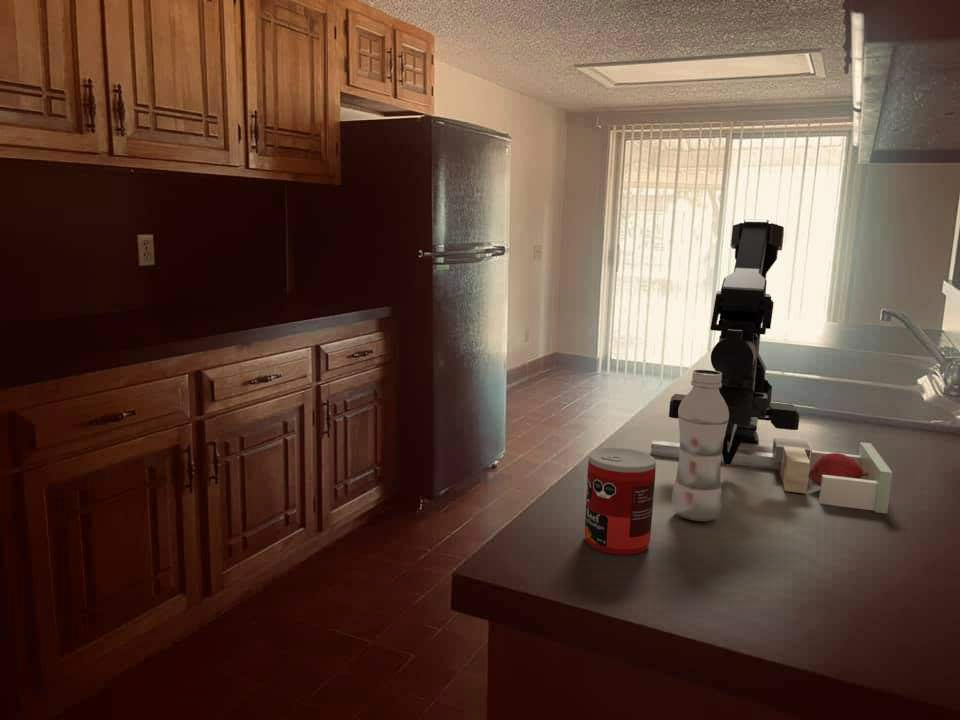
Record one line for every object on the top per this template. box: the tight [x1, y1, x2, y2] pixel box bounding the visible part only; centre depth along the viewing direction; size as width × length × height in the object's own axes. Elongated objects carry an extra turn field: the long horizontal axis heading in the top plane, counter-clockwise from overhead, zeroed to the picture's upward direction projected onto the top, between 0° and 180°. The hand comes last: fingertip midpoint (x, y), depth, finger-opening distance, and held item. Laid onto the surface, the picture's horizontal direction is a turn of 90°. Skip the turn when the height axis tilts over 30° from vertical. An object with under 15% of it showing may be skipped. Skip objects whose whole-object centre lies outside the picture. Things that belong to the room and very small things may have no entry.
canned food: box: [584, 447, 657, 556], centre depth 88 cm, size 8×8×11 cm
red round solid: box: [809, 452, 868, 487], centre depth 109 cm, size 6×6×8 cm
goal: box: [809, 441, 893, 515], centre depth 109 cm, size 15×8×6 cm, turn 162°
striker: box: [772, 437, 812, 495], centre depth 114 cm, size 14×5×5 cm, turn 162°
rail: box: [650, 439, 782, 471], centre depth 122 cm, size 2×31×2 cm, turn 72°
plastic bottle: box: [671, 368, 729, 522], centre depth 96 cm, size 6×7×20 cm
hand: (727, 464), depth 114 cm, fingers closed
